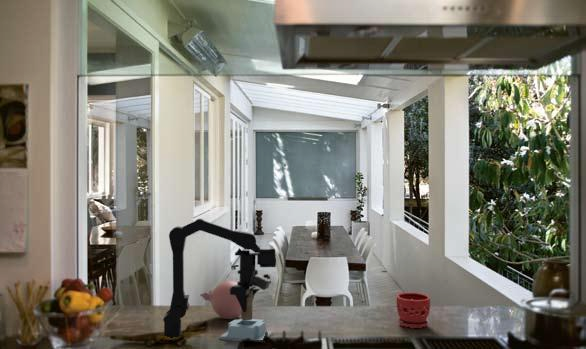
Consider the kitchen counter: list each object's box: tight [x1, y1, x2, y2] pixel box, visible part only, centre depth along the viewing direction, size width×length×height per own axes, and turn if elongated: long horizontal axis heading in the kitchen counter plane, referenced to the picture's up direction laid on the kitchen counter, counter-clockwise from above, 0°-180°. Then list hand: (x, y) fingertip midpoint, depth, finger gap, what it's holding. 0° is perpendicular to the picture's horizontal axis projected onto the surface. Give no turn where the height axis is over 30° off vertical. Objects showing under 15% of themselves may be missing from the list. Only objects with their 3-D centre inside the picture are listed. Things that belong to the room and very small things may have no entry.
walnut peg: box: [240, 290, 254, 320], centre depth 185 cm, size 4×4×10 cm
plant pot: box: [395, 292, 431, 329], centre depth 202 cm, size 13×13×12 cm
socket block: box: [219, 318, 274, 342], centre depth 184 cm, size 12×16×5 cm
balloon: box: [199, 280, 241, 320], centre depth 211 cm, size 15×20×15 cm
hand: (246, 310), depth 185 cm, fingers closed on walnut peg, 4 cm apart
